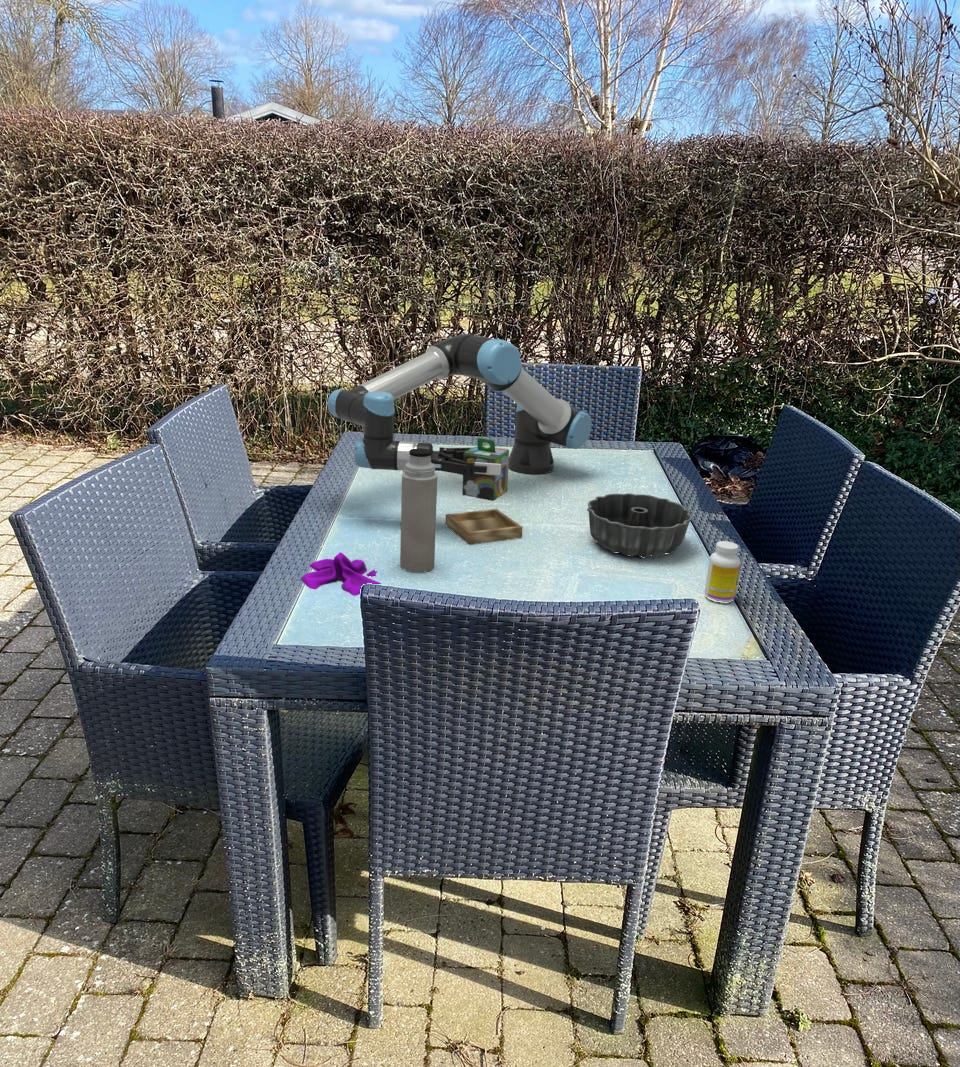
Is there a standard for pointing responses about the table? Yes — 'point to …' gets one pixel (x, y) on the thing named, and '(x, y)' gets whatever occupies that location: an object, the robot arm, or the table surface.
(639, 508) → the bundt pan
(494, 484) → the chalk box
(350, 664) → the table surface
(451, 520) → the bamboo tray
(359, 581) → the cloth
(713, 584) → the supplement bottle
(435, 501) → the thermos bottle
